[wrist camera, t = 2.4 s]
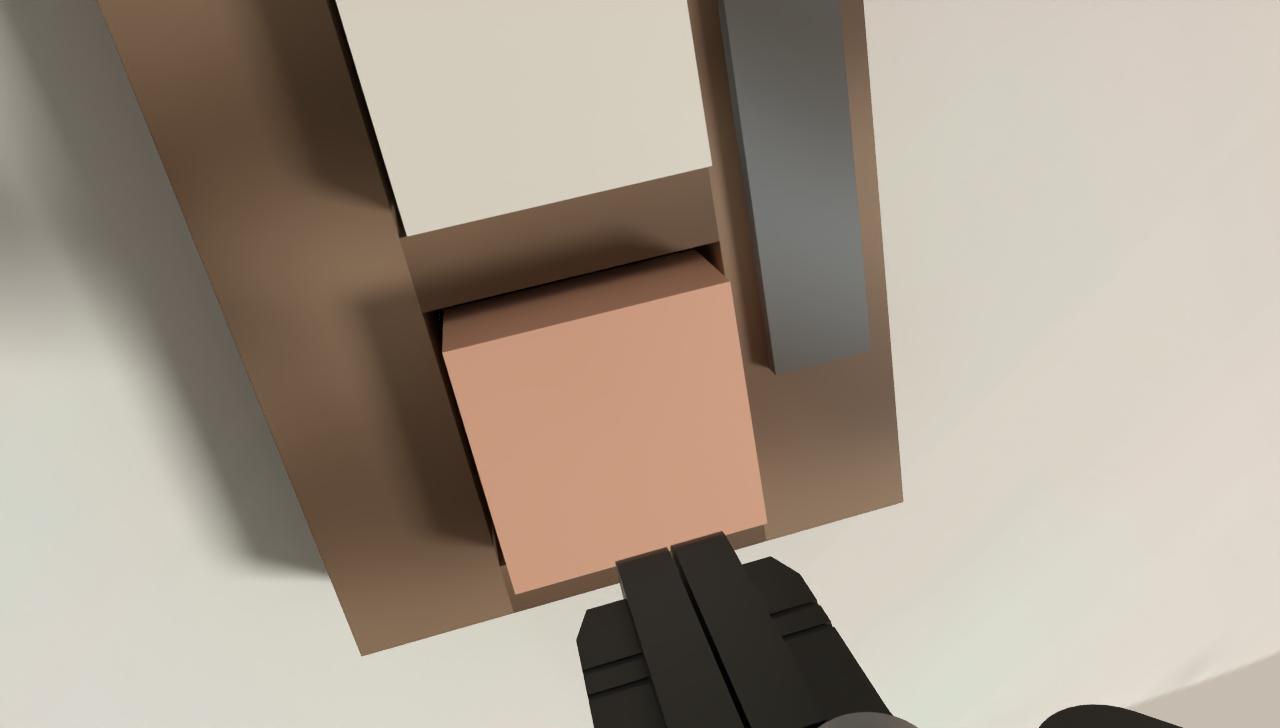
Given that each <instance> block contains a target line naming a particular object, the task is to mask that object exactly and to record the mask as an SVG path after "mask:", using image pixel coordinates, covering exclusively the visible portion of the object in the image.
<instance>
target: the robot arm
mask: <svg viewBox="0 0 1280 728" xmlns="http://www.w3.org/2000/svg"><path fill="white" fill-rule="evenodd" d="M670 550H671V554H670V552H669V550H668V548H667V547H664V548H661V549H657V550H654V551H650V552H647V553H643V554H640V555H636V556H633V557H629V558H626V559H622V560H619V561H615V564H616V569H617V573H618V578H619V582H620V586H621V590H622V594H623V598H624V599H623V600H620V601H616V602H613V603H609V604H606V605H602V606H599V607H595V608H592V609H589V610H586V613H585V616H584V619H583V622H582V625H581V628H580V631H579V634H578V637H577V639H576V641H577V646H578V651H579V656H580V661H581V666H582V671H583V675H584V680H585V685H586V690H587V695H588V699H589V705H590V710H591V714H592V719H593V724H594V728H917V727H916V726H914V725H913V724H911V723H909V722H907V721H905V720H903V719H900V718H898V717H895V716H893V715H892V714H891V712H890V711H889V710H888V708H887V707H886V705H885V704H884V702H883V701H882V699H881V698H880V696H879V695H878V693H877V692H876V690H875V689H874V687H873V685H872V684H871V682H870V681H869V679H868V678H867V676H866V675H865V673H864V672H863V670H862V669H861V667H860V666H859V664H858V662H857V661H856V659H855V658H854V656H853V655H852V653H851V652H850V650H849V649H848V647H847V646H846V644H845V642H844V641H843V639H842V638H841V636H840V635H839V633H838V632H837V630H836V629H835V627H832V624H831V621H830V619H829V618H828V616H827V615H826V613H825V612H824V610H823V609H822V607H821V606H820V605H818V603H817V599H816V598H815V596H814V595H813V593H812V592H811V590H810V589H809V587H808V586H807V584H806V583H805V581H804V580H803V578H802V576H801V575H800V574H799V573H797V572H796V571H794V570H792V569H791V568H789V567H787V566H786V565H784V564H783V563H781V562H779V561H778V560H776V559H774V558H773V557H771V556H770V557H767V558H763V559H760V560H756V561H753V562H750V563H746V564H743V565H742V564H741V562H740V560H739V559H738V557H737V555H736V553H735V551H734V549H733V548H732V546H731V544H730V542H729V540H728V539H727V537H726V535H725V534H724V532H723V531H720V532H716V533H713V534H709V535H706V536H702V537H699V538H695V539H692V540H688V541H685V542H681V543H677V544H674V545H671V546H670ZM1039 728H1182V727H1179V726H1176V725H1173V724H1170V723H1167V722H1164V721H1161V720H1158V719H1156V718H1152V717H1149V716H1146V715H1144V714H1141V713H1138V712H1135V711H1131V710H1128V709H1124V708H1121V707H1115V706H1108V705H1080V706H1075V707H1070V708H1067V709H1064V710H1061V711H1059V712H1057V713H1055V714H1053V715H1052V716H1050V717H1049V718H1047V719H1046V720H1045V721H1044V722H1043V723H1042V724H1041V726H1040V727H1039Z"/></svg>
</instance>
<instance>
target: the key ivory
mask: <svg viewBox="0 0 1280 728" xmlns="http://www.w3.org/2000/svg"><path fill="white" fill-rule="evenodd" d="M336 3H337V7H338V10H339V13H340V17H341V20H342V23H343V27H344V30H345V33H346V36H347V40H348V43H349V46H350V50H351V53H352V56H353V60H354V63H355V66H356V69H357V73H358V76H359V79H360V83H361V86H362V89H363V93H364V96H365V99H366V103H367V106H368V109H369V112H370V116H371V119H372V122H373V126H374V129H375V132H376V136H377V139H378V142H379V146H380V149H381V152H382V155H383V159H384V162H385V165H386V169H387V172H388V175H389V179H390V182H391V185H392V188H393V192H394V195H395V198H396V202H397V205H398V208H399V212H400V215H401V218H402V222H403V225H404V228H405V231H406V235H407V236H412V235H416V234H420V233H425V232H429V231H433V230H438V229H442V228H446V227H451V226H455V225H459V224H464V223H468V222H472V221H477V220H481V219H485V218H489V217H494V216H498V215H502V214H507V213H511V212H515V211H520V210H524V209H528V208H533V207H537V206H541V205H546V204H550V203H554V202H559V201H563V200H567V199H571V198H576V197H580V196H584V195H589V194H593V193H597V192H602V191H606V190H610V189H615V188H619V187H623V186H628V185H632V184H636V183H641V182H645V181H649V180H654V179H658V178H662V177H666V176H671V175H675V174H679V173H684V172H688V171H692V170H697V169H701V168H705V167H710V166H712V161H711V154H710V148H709V141H708V135H707V128H706V122H705V115H704V109H703V102H702V96H701V89H700V83H699V76H698V70H697V63H696V57H695V50H694V44H693V37H692V31H691V25H690V18H689V12H688V5H687V0H336Z"/></svg>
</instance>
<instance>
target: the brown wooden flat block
mask: <svg viewBox="0 0 1280 728" xmlns="http://www.w3.org/2000/svg"><path fill="white" fill-rule="evenodd" d="M97 1H98V4H99V6H100V9H101V11H102V14H103V16H104V19H105V21H106V24H107V26H108V29H109V31H110V34H111V36H112V39H113V41H114V44H115V46H116V49H117V51H118V54H119V56H120V58H121V61H122V63H123V66H124V68H125V71H126V73H127V76H128V78H129V81H130V83H131V86H132V88H133V91H134V93H135V96H136V98H137V101H138V103H139V106H140V108H141V111H142V113H143V116H144V118H145V120H146V123H147V125H148V128H149V130H150V133H151V135H152V138H153V140H154V143H155V145H156V148H157V150H158V153H159V155H160V158H161V160H162V163H163V165H164V168H165V170H166V173H167V175H168V178H169V180H170V182H171V185H172V187H173V190H174V192H175V195H176V197H177V200H178V202H179V205H180V207H181V210H182V212H183V215H184V217H185V220H186V222H187V225H188V227H189V230H190V232H191V235H192V237H193V240H194V242H195V244H196V247H197V249H198V252H199V254H200V257H201V259H202V262H203V264H204V267H205V269H206V272H207V274H208V277H209V279H210V282H211V284H212V287H213V289H214V292H215V294H216V297H217V299H218V302H219V304H220V307H221V309H222V311H223V314H224V316H225V319H226V321H227V324H228V326H229V329H230V331H231V334H232V336H233V339H234V341H235V344H236V346H237V349H238V351H239V354H240V356H241V359H242V361H243V364H244V366H245V369H246V371H247V373H248V376H249V378H250V381H251V383H252V386H253V388H254V391H255V393H256V396H257V398H258V401H259V403H260V406H261V408H262V411H263V413H264V416H265V418H266V421H267V423H268V426H269V428H270V431H271V433H272V435H273V438H274V440H275V443H276V445H277V448H278V450H279V453H280V455H281V458H282V460H283V463H284V465H285V468H286V470H287V473H288V475H289V478H290V480H291V483H292V485H293V488H294V490H295V493H296V495H297V497H298V500H299V502H300V505H301V507H302V510H303V512H304V515H305V517H306V520H307V522H308V525H309V527H310V530H311V532H312V535H313V537H314V540H315V542H316V545H317V547H318V550H319V552H320V555H321V557H322V559H323V562H324V564H325V567H326V569H327V572H328V574H329V577H330V579H331V582H332V584H333V587H334V589H335V592H336V594H337V597H338V599H339V602H340V604H341V607H342V609H343V612H344V614H345V617H346V619H347V621H348V624H349V626H350V629H351V631H352V634H353V636H354V639H355V641H356V644H357V646H358V649H359V651H360V654H361V656H365V655H368V654H372V653H375V652H379V651H382V650H386V649H389V648H393V647H396V646H400V645H403V644H407V643H410V642H414V641H417V640H421V639H424V638H428V637H431V636H435V635H438V634H442V633H445V632H449V631H452V630H456V629H459V628H463V627H466V626H470V625H473V624H477V623H480V622H484V621H487V620H491V619H494V618H498V617H501V616H505V615H509V614H512V613H516V612H519V611H523V610H526V609H530V608H533V607H537V606H540V605H544V604H547V603H551V602H554V601H558V600H561V599H565V598H568V597H572V596H575V595H579V594H582V593H586V592H589V591H593V590H596V589H600V588H603V587H607V586H610V585H614V584H617V583H620V582H619V578H618V573H617V569H616V566H615V567H611V568H608V569H604V570H601V571H597V572H594V573H590V574H587V575H583V576H579V577H576V578H572V579H569V580H565V581H562V582H558V583H555V584H551V585H548V586H544V587H541V588H537V589H534V590H530V591H526V592H523V593H519V594H516V595H515V592H514V588H513V585H512V582H511V579H510V575H509V572H508V569H507V565H506V562H505V559H504V555H503V552H502V549H501V545H500V542H499V539H498V536H497V532H496V529H495V526H494V522H493V519H492V516H491V512H490V509H489V506H488V503H487V499H486V496H485V493H484V489H483V486H482V483H481V479H480V476H479V473H478V469H477V466H476V463H475V460H474V456H473V453H472V450H471V446H470V443H469V440H468V436H467V433H466V430H465V426H464V423H463V420H462V417H461V413H460V410H459V407H458V403H457V400H456V397H455V393H454V390H453V387H452V384H451V380H450V377H449V374H448V370H447V367H446V364H445V360H444V357H443V354H442V344H443V332H442V329H441V325H440V322H439V319H438V315H437V312H436V310H437V309H441V308H445V307H449V306H453V305H458V304H462V303H466V302H470V301H474V300H478V299H482V298H486V297H491V296H495V295H499V294H503V293H507V292H511V291H515V290H520V289H524V288H528V287H532V286H536V285H540V284H544V283H548V282H553V281H557V280H561V279H565V278H569V277H573V276H577V275H581V274H586V273H590V272H594V271H598V270H602V269H606V268H610V267H614V266H619V265H623V264H627V263H631V262H635V261H639V260H643V259H648V258H652V257H656V256H660V255H664V254H668V253H672V252H676V251H681V250H685V249H689V248H692V249H695V250H696V251H697V252H698V253H699V254H701V255H702V256H703V257H704V258H705V259H706V260H707V261H708V262H709V263H710V264H712V265H713V266H714V267H715V268H716V269H717V270H718V271H719V272H720V273H721V274H723V275H724V276H725V277H726V278H727V279H728V280H729V281H730V284H731V290H732V297H733V303H734V310H735V316H736V323H737V329H738V336H739V342H740V349H741V355H742V361H743V368H744V374H745V381H746V387H747V394H748V400H749V407H750V413H751V420H752V426H753V433H754V439H755V446H756V452H757V459H758V465H759V472H760V478H761V485H762V491H763V498H764V504H765V511H766V517H767V524H763V525H760V526H756V527H753V528H749V529H746V530H742V531H739V532H735V533H732V534H728V535H726V537H727V539H728V540H729V542H730V544H731V546H732V548H733V549H734V550H737V549H740V548H744V547H747V546H751V545H754V544H758V543H761V542H765V541H768V540H772V539H775V538H779V537H782V536H786V535H789V534H793V533H796V532H800V531H803V530H807V529H810V528H814V527H817V526H821V525H824V524H828V523H831V522H835V521H838V520H842V519H845V518H849V517H852V516H856V515H859V514H863V513H866V512H870V511H873V510H877V509H880V508H884V507H887V506H891V505H894V504H898V503H901V502H903V492H902V480H901V467H900V455H899V442H898V430H897V417H896V405H895V392H894V380H893V367H892V355H891V342H890V330H889V317H888V305H887V292H886V280H885V267H884V255H883V242H882V230H881V217H880V204H879V192H878V179H877V167H876V154H875V142H874V129H873V117H872V104H871V92H870V79H869V67H868V54H867V42H866V29H865V17H864V4H863V0H687V5H688V12H689V18H690V25H691V31H692V37H693V44H694V50H695V57H696V63H697V70H698V76H699V83H700V89H701V96H702V102H703V109H704V115H705V122H706V128H707V135H708V141H709V148H710V154H711V161H712V166H710V167H705V168H701V169H697V170H692V171H688V172H684V173H679V174H675V175H671V176H666V177H662V178H658V179H654V180H649V181H645V182H641V183H636V184H632V185H628V186H623V187H619V188H615V189H610V190H606V191H602V192H597V193H593V194H589V195H584V196H580V197H576V198H571V199H567V200H563V201H559V202H554V203H550V204H546V205H541V206H537V207H533V208H528V209H524V210H520V211H515V212H511V213H507V214H502V215H498V216H494V217H489V218H485V219H481V220H477V221H472V222H468V223H464V224H459V225H455V226H451V227H446V228H442V229H438V230H433V231H429V232H425V233H420V234H416V235H412V236H407V235H406V231H405V228H404V225H403V222H402V218H401V215H400V212H399V208H398V205H397V202H396V198H395V195H394V192H393V188H392V185H391V182H390V179H389V175H388V172H387V169H386V165H385V162H384V159H383V155H382V152H381V149H380V146H379V142H378V139H377V136H376V132H375V129H374V126H373V122H372V119H371V116H370V112H369V109H368V106H367V103H366V99H365V96H364V93H363V89H362V86H361V83H360V79H359V76H358V73H357V69H356V66H355V63H354V60H353V56H352V53H351V50H350V46H349V43H348V40H347V36H346V33H345V30H344V27H343V23H342V20H341V17H340V13H339V10H338V7H337V3H336V0H97ZM669 552H670V554H671V551H669Z"/></svg>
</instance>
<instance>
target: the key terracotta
mask: <svg viewBox="0 0 1280 728" xmlns="http://www.w3.org/2000/svg"><path fill="white" fill-rule="evenodd" d="M442 354H443V357H444V360H445V364H446V367H447V370H448V374H449V377H450V380H451V384H452V387H453V390H454V393H455V397H456V400H457V403H458V407H459V410H460V413H461V417H462V420H463V423H464V426H465V430H466V433H467V436H468V440H469V443H470V446H471V450H472V453H473V456H474V460H475V463H476V466H477V469H478V473H479V476H480V479H481V483H482V486H483V489H484V493H485V496H486V499H487V503H488V506H489V509H490V512H491V516H492V519H493V522H494V526H495V529H496V532H497V536H498V539H499V542H500V545H501V549H502V552H503V555H504V559H505V562H506V565H507V569H508V572H509V575H510V579H511V582H512V585H513V588H514V592H515V595H516V594H519V593H523V592H526V591H530V590H534V589H537V588H541V587H544V586H548V585H551V584H555V583H558V582H562V581H565V580H569V579H572V578H576V577H579V576H583V575H587V574H590V573H594V572H597V571H601V570H604V569H608V568H611V567H615V566H616V564H615V561H619V560H622V559H626V558H629V557H633V556H636V555H640V554H643V553H647V552H650V551H654V550H657V549H661V548H664V547H667V548H668V550H669V551H671V550H670V546H671V545H674V544H677V543H681V542H685V541H688V540H692V539H695V538H699V537H702V536H706V535H709V534H713V533H716V532H720V531H723V532H724V534H725V535H728V534H732V533H735V532H739V531H742V530H746V529H749V528H753V527H756V526H760V525H763V524H767V517H766V511H765V504H764V498H763V491H762V485H761V478H760V472H759V465H758V459H757V452H756V446H755V439H754V433H753V426H752V420H751V413H750V407H749V400H748V394H747V387H746V381H745V374H744V368H743V361H742V355H741V349H740V342H739V336H738V329H737V323H736V316H735V310H734V303H733V297H732V290H731V284H730V281H729V280H728V279H727V278H726V277H725V276H724V275H723V274H721V273H720V272H719V271H718V270H717V269H716V268H715V267H714V266H713V265H712V264H710V263H709V262H708V261H707V260H706V259H705V258H704V257H703V256H702V255H701V254H699V253H698V252H697V251H696V250H695V249H692V250H688V251H684V252H680V253H676V254H671V255H667V256H663V257H659V258H655V259H651V260H647V261H643V262H638V263H634V264H630V265H626V266H622V267H618V268H614V269H610V270H605V271H601V272H597V273H593V274H589V275H585V276H581V277H577V278H572V279H568V280H564V281H560V282H556V283H552V284H548V285H544V286H539V287H535V288H531V289H527V290H523V291H519V292H515V293H511V294H506V295H502V296H498V297H494V298H490V299H486V300H482V301H478V302H473V303H469V304H465V305H461V306H457V307H453V308H449V309H445V310H444V313H443V344H442Z"/></svg>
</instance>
